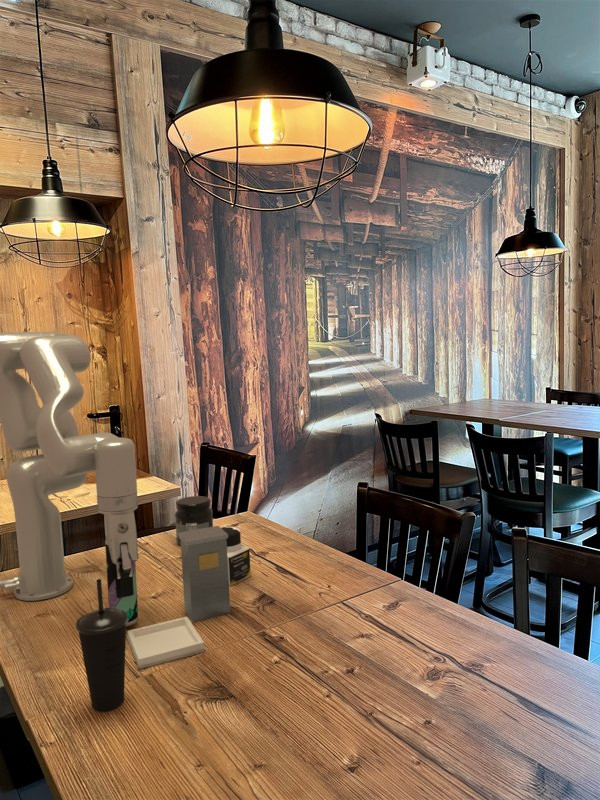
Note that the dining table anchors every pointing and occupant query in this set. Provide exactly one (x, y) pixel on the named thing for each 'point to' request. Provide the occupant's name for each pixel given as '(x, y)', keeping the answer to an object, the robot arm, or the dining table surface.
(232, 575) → the medicine bottle
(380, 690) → the dining table surface
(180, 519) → the supplement container
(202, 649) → the dish
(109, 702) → the drinking cup
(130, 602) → the spray can
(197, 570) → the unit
